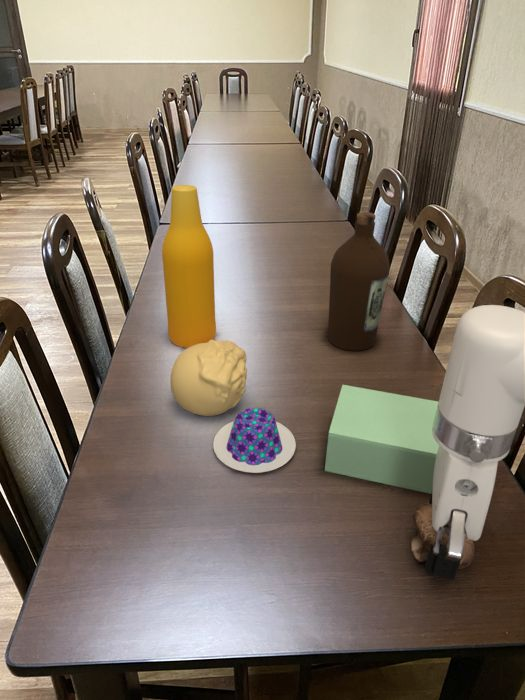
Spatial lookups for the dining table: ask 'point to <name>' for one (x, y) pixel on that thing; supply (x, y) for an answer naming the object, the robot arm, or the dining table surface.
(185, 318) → the beer bottle
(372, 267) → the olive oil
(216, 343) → the sculpture
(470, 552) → the mushroom
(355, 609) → the dining table surface
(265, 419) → the pudding
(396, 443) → the green flat panel
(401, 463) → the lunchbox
